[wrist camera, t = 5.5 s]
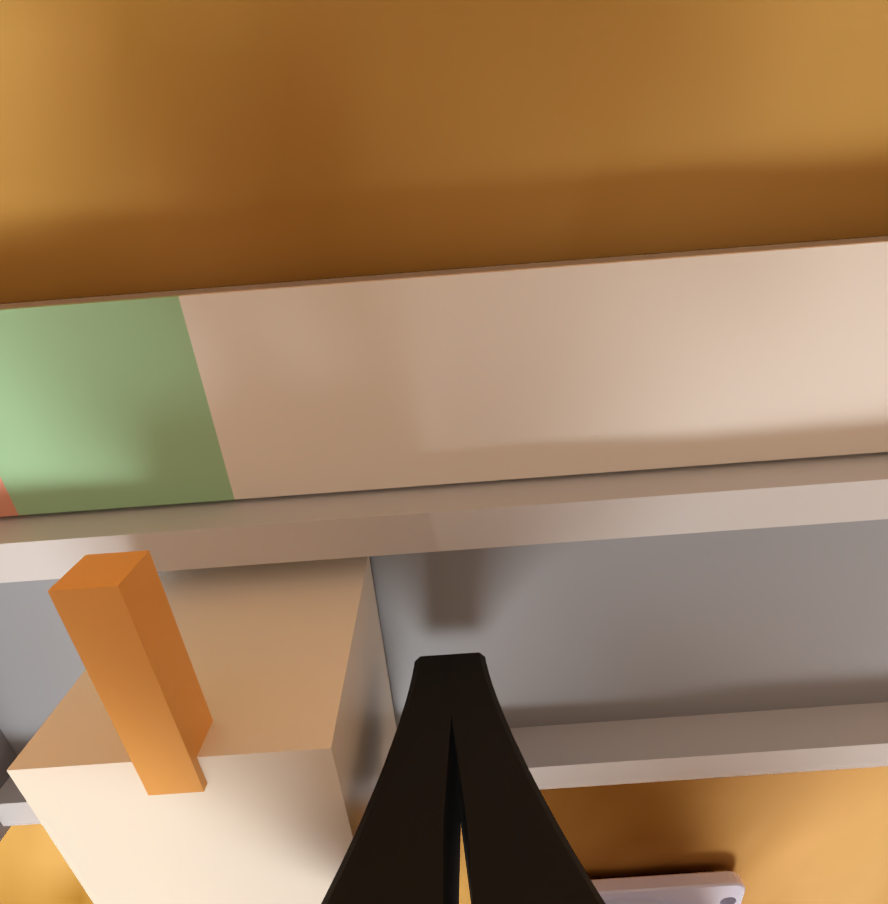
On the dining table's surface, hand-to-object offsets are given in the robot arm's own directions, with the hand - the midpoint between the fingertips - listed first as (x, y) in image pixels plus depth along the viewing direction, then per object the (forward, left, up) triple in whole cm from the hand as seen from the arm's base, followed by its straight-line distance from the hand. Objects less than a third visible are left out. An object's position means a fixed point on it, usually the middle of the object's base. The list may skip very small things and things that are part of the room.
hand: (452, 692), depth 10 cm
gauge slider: (+1, +3, -1) cm, 4 cm away
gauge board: (+1, 0, -2) cm, 3 cm away
